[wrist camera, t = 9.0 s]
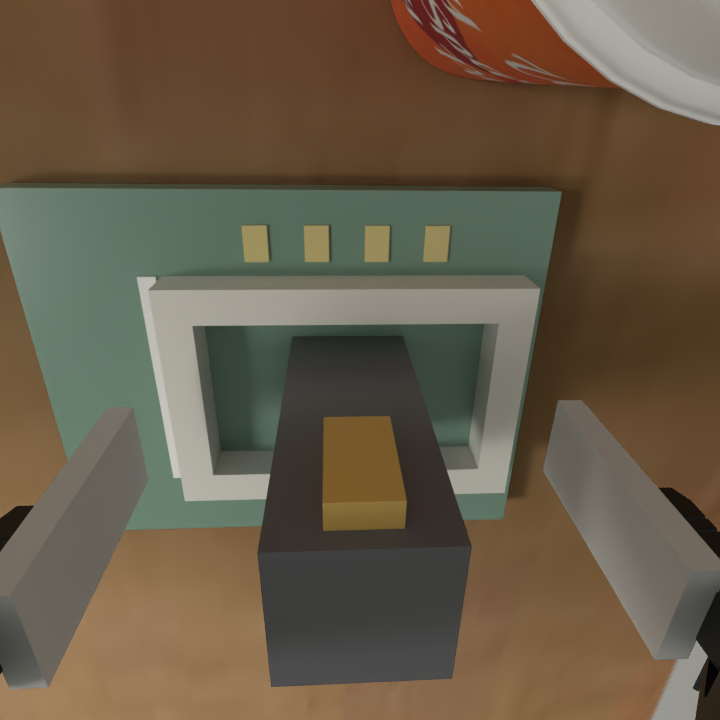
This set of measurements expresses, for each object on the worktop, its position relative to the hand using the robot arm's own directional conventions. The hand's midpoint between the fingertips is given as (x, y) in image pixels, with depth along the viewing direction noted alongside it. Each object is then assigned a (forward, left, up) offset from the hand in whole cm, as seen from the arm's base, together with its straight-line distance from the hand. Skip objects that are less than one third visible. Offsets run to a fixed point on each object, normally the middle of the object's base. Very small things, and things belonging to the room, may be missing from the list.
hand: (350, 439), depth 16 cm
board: (-2, 0, -5) cm, 5 cm away
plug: (0, 0, -4) cm, 4 cm away
